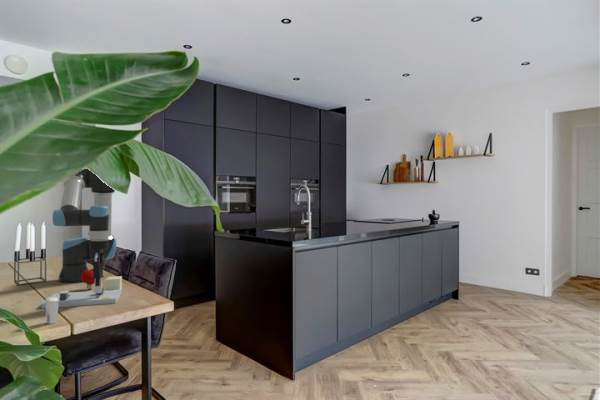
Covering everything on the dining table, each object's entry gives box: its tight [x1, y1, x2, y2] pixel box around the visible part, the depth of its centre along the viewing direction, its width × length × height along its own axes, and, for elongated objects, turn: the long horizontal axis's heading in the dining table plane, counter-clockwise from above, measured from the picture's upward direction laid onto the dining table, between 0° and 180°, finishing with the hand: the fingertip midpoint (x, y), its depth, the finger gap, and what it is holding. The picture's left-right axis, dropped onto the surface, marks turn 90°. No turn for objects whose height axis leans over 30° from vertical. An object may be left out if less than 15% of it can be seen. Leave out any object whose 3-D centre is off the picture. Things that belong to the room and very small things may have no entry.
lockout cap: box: [104, 275, 123, 291], centre depth 178 cm, size 7×6×7 cm
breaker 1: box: [59, 290, 69, 300], centre depth 156 cm, size 3×2×3 cm
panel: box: [40, 289, 122, 309], centre depth 162 cm, size 17×28×2 cm, turn 109°
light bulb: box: [81, 268, 94, 291], centre depth 182 cm, size 9×7×10 cm
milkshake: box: [44, 296, 60, 325], centre depth 133 cm, size 4×5×10 cm
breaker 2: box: [96, 285, 105, 295], centre depth 166 cm, size 3×2×3 cm
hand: (98, 292), depth 161 cm, fingers closed
